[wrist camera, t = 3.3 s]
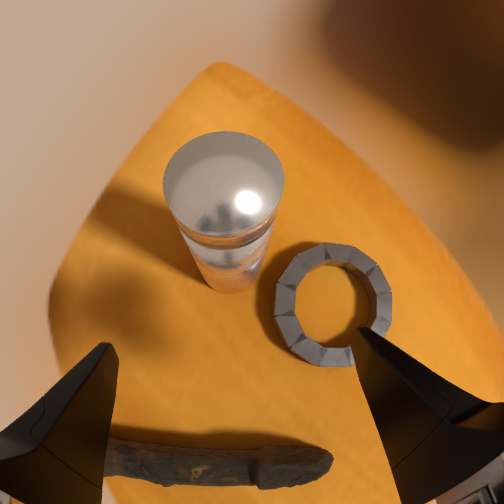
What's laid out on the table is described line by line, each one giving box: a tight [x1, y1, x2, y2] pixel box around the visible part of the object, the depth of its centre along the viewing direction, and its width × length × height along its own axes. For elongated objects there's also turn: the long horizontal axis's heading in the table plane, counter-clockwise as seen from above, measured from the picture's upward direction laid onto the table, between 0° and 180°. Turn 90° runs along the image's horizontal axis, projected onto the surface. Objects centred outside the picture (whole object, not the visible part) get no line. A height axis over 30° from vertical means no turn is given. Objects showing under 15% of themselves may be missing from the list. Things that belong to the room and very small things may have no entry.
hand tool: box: [103, 433, 334, 490], centre depth 16 cm, size 19×4×5 cm, turn 90°
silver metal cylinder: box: [163, 131, 284, 294], centre depth 17 cm, size 5×5×13 cm
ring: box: [272, 243, 392, 367], centre depth 22 cm, size 10×10×2 cm
